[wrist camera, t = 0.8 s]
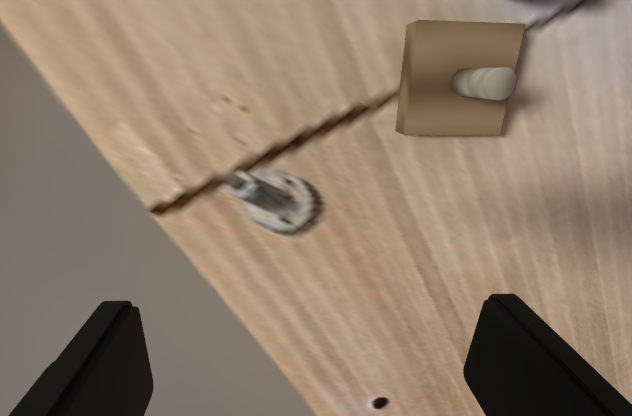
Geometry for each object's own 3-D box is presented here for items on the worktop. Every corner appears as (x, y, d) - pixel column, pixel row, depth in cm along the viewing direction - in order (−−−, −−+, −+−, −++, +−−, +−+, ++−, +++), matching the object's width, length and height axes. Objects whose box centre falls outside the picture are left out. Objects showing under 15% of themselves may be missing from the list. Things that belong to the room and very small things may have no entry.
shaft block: (406, 24, 31) (451, 7, 23) (504, 28, 32) (582, 12, 24) (395, 130, 35) (430, 148, 27) (483, 130, 36) (543, 147, 28)
